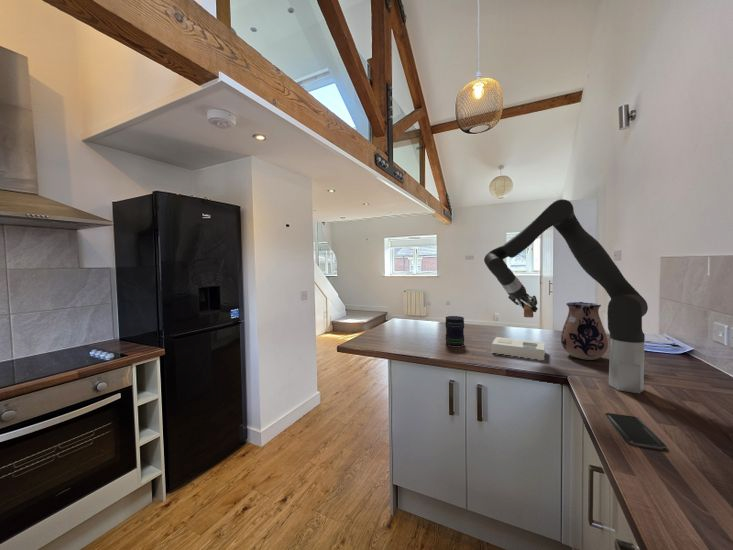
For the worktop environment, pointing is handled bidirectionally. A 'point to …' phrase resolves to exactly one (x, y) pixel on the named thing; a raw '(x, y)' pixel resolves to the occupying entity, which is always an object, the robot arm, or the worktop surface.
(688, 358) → the worktop surface
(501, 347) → the socket block
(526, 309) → the peg
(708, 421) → the worktop surface
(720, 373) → the worktop surface
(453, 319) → the storage jar
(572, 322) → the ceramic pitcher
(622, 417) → the phone
